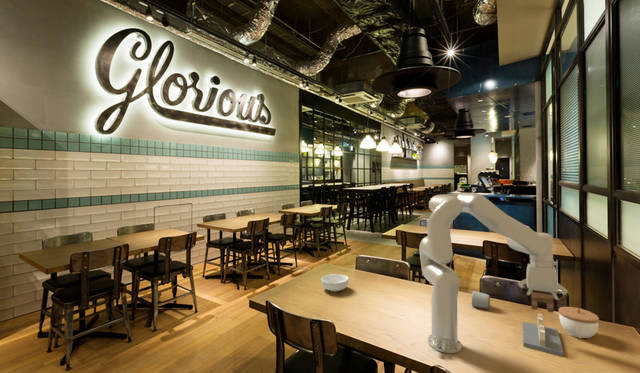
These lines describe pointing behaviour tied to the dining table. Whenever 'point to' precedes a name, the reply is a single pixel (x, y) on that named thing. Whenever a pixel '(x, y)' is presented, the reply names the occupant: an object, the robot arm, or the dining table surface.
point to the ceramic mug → (480, 300)
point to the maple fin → (541, 329)
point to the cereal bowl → (334, 282)
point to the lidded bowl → (578, 322)
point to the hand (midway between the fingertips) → (542, 305)
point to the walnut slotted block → (542, 299)
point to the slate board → (550, 339)
